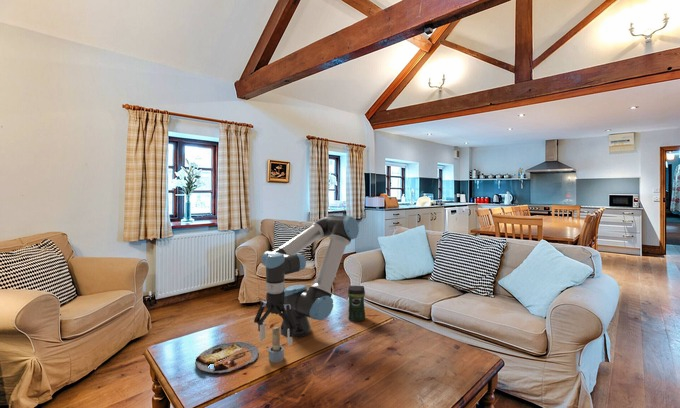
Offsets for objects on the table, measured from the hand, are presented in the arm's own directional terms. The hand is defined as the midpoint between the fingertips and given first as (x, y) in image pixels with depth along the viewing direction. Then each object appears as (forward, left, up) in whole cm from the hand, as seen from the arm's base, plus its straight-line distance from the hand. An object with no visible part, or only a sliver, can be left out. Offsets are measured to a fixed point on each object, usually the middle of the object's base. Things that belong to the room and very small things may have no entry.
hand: (276, 341), depth 132 cm
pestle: (0, 0, -7) cm, 7 cm away
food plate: (+6, -20, -9) cm, 23 cm away
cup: (0, 0, -8) cm, 8 cm away
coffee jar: (-52, +20, -8) cm, 56 cm away
